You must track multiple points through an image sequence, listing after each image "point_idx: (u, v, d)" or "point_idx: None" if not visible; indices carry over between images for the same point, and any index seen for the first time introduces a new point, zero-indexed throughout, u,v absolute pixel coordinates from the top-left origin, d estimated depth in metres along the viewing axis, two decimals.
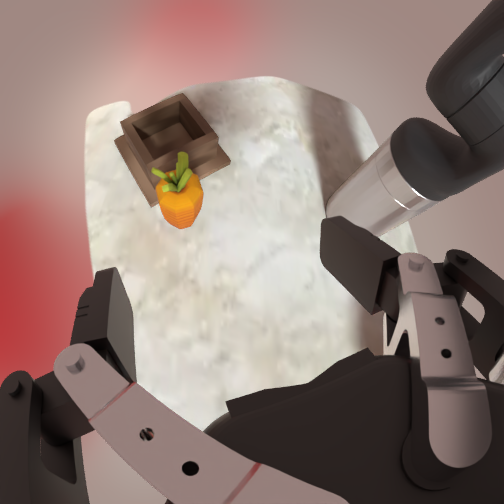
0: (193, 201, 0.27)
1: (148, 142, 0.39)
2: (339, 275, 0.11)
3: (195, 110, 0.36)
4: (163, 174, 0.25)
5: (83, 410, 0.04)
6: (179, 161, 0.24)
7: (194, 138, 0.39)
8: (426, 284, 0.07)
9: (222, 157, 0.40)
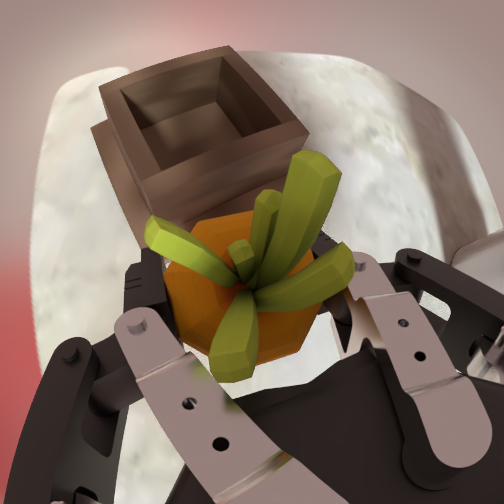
0: (302, 339, 0.08)
1: (154, 134, 0.20)
2: None
3: (255, 75, 0.17)
4: (204, 256, 0.05)
5: (133, 369, 0.05)
6: (295, 199, 0.05)
7: (245, 132, 0.20)
8: (374, 284, 0.07)
9: None
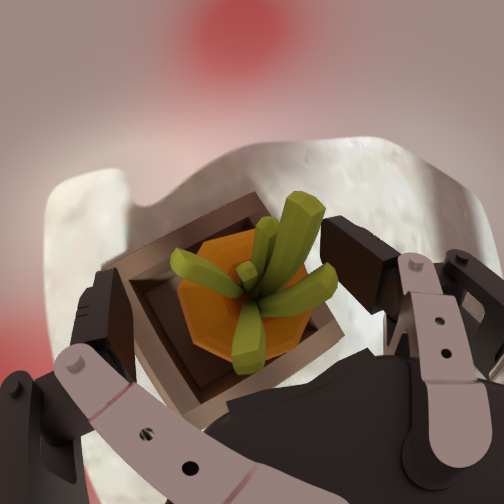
0: (299, 337, 0.09)
1: (172, 293, 0.19)
2: (339, 275, 0.11)
3: None
4: (220, 278, 0.07)
5: (83, 409, 0.04)
6: (289, 231, 0.06)
7: None
8: (426, 284, 0.07)
9: None
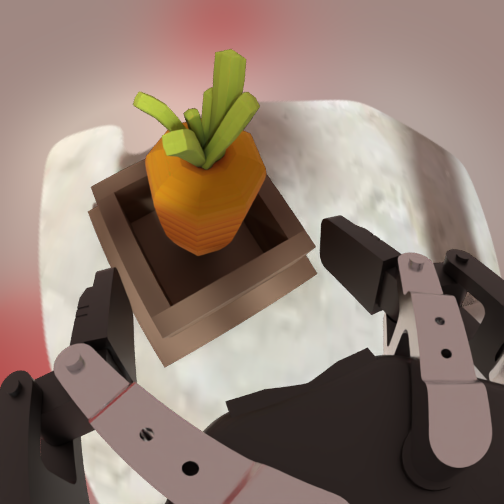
0: (247, 195, 0.10)
1: (155, 223, 0.21)
2: (339, 275, 0.11)
3: None
4: (168, 111, 0.08)
5: (83, 410, 0.04)
6: (219, 75, 0.07)
7: (249, 223, 0.21)
8: (426, 284, 0.07)
9: (302, 266, 0.22)
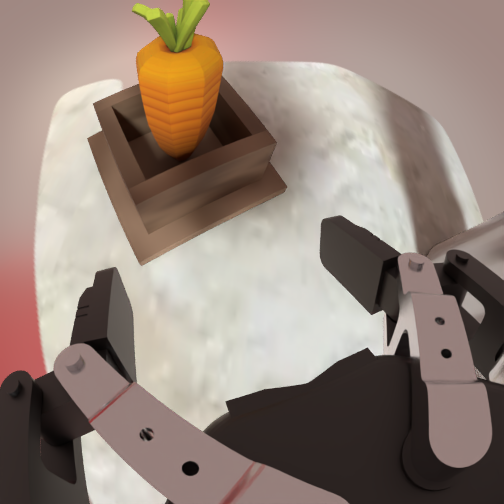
0: (205, 67, 0.12)
1: (143, 144, 0.22)
2: (339, 275, 0.11)
3: (231, 90, 0.19)
4: None
5: (83, 410, 0.04)
6: None
7: (224, 141, 0.23)
8: (426, 284, 0.07)
9: (272, 179, 0.23)
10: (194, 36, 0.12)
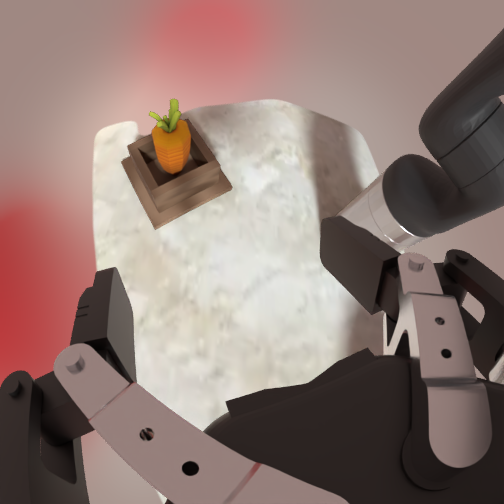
0: (182, 139, 0.32)
1: (154, 165, 0.42)
2: (339, 275, 0.11)
3: (199, 137, 0.39)
4: (158, 116, 0.29)
5: (83, 410, 0.04)
6: (171, 106, 0.29)
7: (198, 163, 0.42)
8: (426, 284, 0.07)
9: (224, 183, 0.43)
10: (177, 122, 0.32)
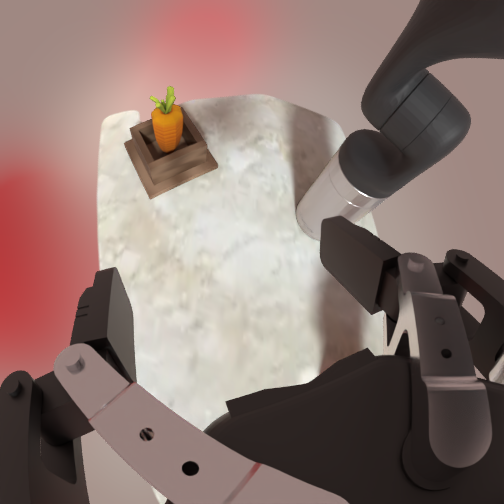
0: (175, 119, 0.38)
1: (152, 146, 0.48)
2: (339, 275, 0.11)
3: (190, 122, 0.45)
4: (157, 100, 0.35)
5: (83, 409, 0.04)
6: (168, 92, 0.35)
7: (189, 145, 0.48)
8: (426, 284, 0.07)
9: (211, 162, 0.49)
10: (172, 106, 0.38)
